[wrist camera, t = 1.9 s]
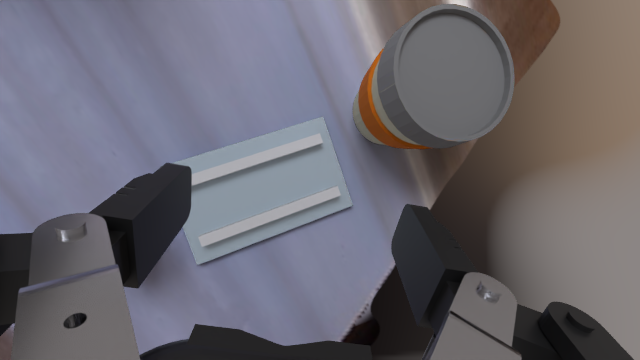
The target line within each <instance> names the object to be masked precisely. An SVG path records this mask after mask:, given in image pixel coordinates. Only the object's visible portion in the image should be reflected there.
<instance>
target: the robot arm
mask: <svg viewBox="0 0 640 360" xmlns="http://www.w3.org/2000/svg"><path fill="white" fill-rule="evenodd" d="M191 190H192V171H191V168H190V167H189V166H184V165H178V164H172V163H166V164H164V165H163V166H162V167H161V168H160V169H158V170H157V171H156V172H155V173H153V174H150V173H148V174H145V175H143V176H140V177H137V178H134V179H133V180H132V181H130V182H129V183H128V184H126V185H125V186H124V188H121V189H120V190H118V191H117V192H116V194H113V195H112V196H111V197H109V198H108V199H107V200H105V201H104V202H103V203H101V204H100V205H99V206H97V207H96V208H95V209H93V210H92V211H91V212H90V213H76V214H68V215H63V216H59V217H56V218H53V219H51V220H48V221H46V222H44V223H43V224H41V225H40V226H38V227H37V228H36V229H35V231H34V232H33V233H21V234H0V336H1V335H2V334H3V333H4V332H5V331H6V330H7V329H8V328H9V327H10V326H11V325H12V324H13V323H15V327H14V336H13V345H12V355H11V360H373V359H372V354H371V348H370V346H368V345H359V344H351V343H343V342H335V341H323V342H315V343H307V344H299V345H291V346H282V345H279V344H276V343H273V342H271V341H268V340H266V339H263V338H260V337H258V336H255V335H253V334H250V333H247V332H245V331H242V330H239V329H230V328H222V327H214V326H206V325H198V324H195V326H194V329H193V331H192V333H191V336H190V338H189V339H186V340H180V341H176V342H171V343H168V344H165V345H162V346H159V347H156V348H154V349H152V350H149V351H147V352H145V353H143V354H141V355H139V352H138V348H137V343H136V339H135V335H134V331H133V326H132V322H131V318H130V314H129V309H128V305H127V301H126V297H125V292H124V288H123V286H124V287H132V288H139V287H140V285H141V284H142V282H143V281H144V280H145V278H146V277H147V275H148V274H149V273H150V271H151V270H152V268H153V267H154V266H155V264H156V263H157V261H158V260H159V259H160V257H161V256H162V255H163V253H164V252H165V250H166V249H167V248H168V246H169V245H170V243H171V242H172V241H173V239H174V238H175V236H176V235H177V234H178V232H179V231H180V230H181V228H182V227H183V225H184V224H185V223H186V221H187V219H188V217H189V214H190V210H191ZM391 249H392V254H393V257H394V260H395V263H396V266H397V269H398V272H399V274H400V277H401V280H402V283H403V286H404V289H405V291H406V294H407V297H408V300H409V302H410V306H411V309H412V311H413V314H414V317H415V320H416V323H417V325H418V326H419V327H427V328H433V330H434V335H433V337H432V339H431V341H430V343H429V345H428V347H427V349H426V351H425V354H424V356H423V358H422V360H634V359H633V358H632V357H631V356H630V355H629V354H628V353H627V352H626V351H625V350H624V349H623V348H622V347H621V346H620V345H619V344H618V343H617V341H616V340H615V339H614V338H613V337H612V336H611V335H610V334H609V333H608V332H607V331H606V330H605V329H604V328H603V327H602V326H601V325H600V324H599V323H598V322H597V321H596V320H595V319H593V318H592V317H590V316H589V315H588V314H586V313H584V312H583V311H581V310H579V309H577V308H575V307H573V306H571V305H568V304H565V303H561V302H551V303H550V304H549V305H548V306H547V308H546V309H545V311H544V312H543V313H541V312H537V311H535V310H532V309H530V308H527V307H524V306H521V305H519V304H517V301H516V298H515V297H514V295H513V294H512V292H511V291H510V290H509V289H508V288H507V287H506V286H504V285H503V284H502V283H500V282H499V281H497V280H496V279H493V278H492V277H490V276H487V275H484V274H481V273H478V271H477V270H476V268H475V267H474V265H473V264H472V263H471V261H470V260H469V258H468V257H467V255H466V254H465V253H464V251H463V250H461V247H460V245H459V244H458V242H456V240H455V238H454V237H453V235H452V234H451V233H450V231H449V230H448V229H446V228H445V227H444V226H443V225H442V224H440V223H439V222H437V221H436V219H435V218H434V216H433V215H432V213H431V212H430V210H429V209H428V208H427V207H422V206H416V205H410V204H407V205H405V207H404V209H403V211H402V214H401V216H400V219H399V222H398V225H397V227H396V230H395V233H394V236H393V239H392V246H391Z"/></svg>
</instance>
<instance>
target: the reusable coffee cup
mask: <svg viewBox="0 0 640 360" xmlns="http://www.w3.org/2000/svg"><path fill="white" fill-rule="evenodd" d="M513 90H514V67H513V61H512V58H511V54H510V51H509V48H508V46H507V44H506V42H505V40H504V38H503V37H502V35H501V34H500V32H499V31H498V29H497V28H496V27H495V26H494V25H493V24H492V23H491V22H490V21H489V20H488V19H487V18H486V17H484V16H483V15H482V14H480V13H479V12H477V11H475V10H473V9H470V8H468V7H466V6H461V5H457V4H442V5H437V6H433V7H430V8H428V9H426V10H424V11H422V12H420V13H419V14H418V15H417V16H415V17H414V18H413V19H411V20H410V21H409V22H407V23H406V24H405V25H404V26H402V27H401V28H400V29H399V30H397V31H396V32H395V33H394V34H393V35H392V37H391V38H390V39H389V40H388V42H387V43H386V45H385V47H384V49H382V51H381V52H380V53H379V55H378V56H377V57H376V59H375V60H374V62H373V63H372V65H371V67H370V68H369V70H368V71H367V73H366V75H365V76H364V78H363V80H362V83H361V86H360V90H359V92H358V93H357V95H356V97H355V100H354V104H353V118H354V122H355V125H356V126H357V128H358V130H359V132H360V133H361V134H362V135H363V136H364V137H365V138H366V139H367V140H369V141H371V142H373V143H376V144H379V145H388V146H391V147H394V148H402V149H428V148H448V147H453V146H456V145H459V144H462V143H465V142H467V141H470V140H473V139H476V138H479V137H482V136H483V135H485V134H486V133H488V132H489V131H491V130H492V129H493V128H494V127H495V126H496V125H497V124H498V123H499V122H500V121H501V119H502V118H503V116H504V114H505V113H506V112H507V109H508V107H509V104H510V102H511V99H512V95H513Z"/></svg>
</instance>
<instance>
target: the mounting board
mask: <svg viewBox="0 0 640 360" xmlns="http://www.w3.org/2000/svg"><path fill="white" fill-rule="evenodd" d="M172 164H178V165H184V166H189V167H190V168H191V171H192V190H191V210H190V214H189V217H188V219H187V221H186V223H185V224H184V225H183V229H184V232H185V234H186V237H187V240H188V242H189V245H190V248H191V250H192V253H193V256H194V258H195V261H196V264H197V265H199V264H202V263H204V262H207V261H210V260H212V259H215V258H217V257H220V256H223V255H225V254H228V253H230V252H233V251H236V250H238V249H241V248H243V247H246V246H249V245H251V244H254V243H257V242H259V241H262V240H264V239H267V238H270V237H272V236H275V235H277V234H280V233H283V232H285V231H288V230H290V229H293V228H296V227H298V226H301V225H303V224H306V223H309V222H311V221H314V220H316V219H319V218H322V217H324V216H327V215H329V214H332V213H335V212H337V211H340V210H342V209H345V208H348V207H350V206H353V204H352V201H351V198H350V195H349V192H348V189H347V186H346V183H345V180H344V177H343V174H342V171H341V168H340V165H339V162H338V159H337V156H336V153H335V150H334V147H333V144H332V141H331V138H330V135H329V132H328V129H327V126H326V123H325V120H324V117H320V118H317V119H313V120H310V121H307V122H304V123H300V124H297V125H294V126H291V127H287V128H284V129H281V130H278V131H274V132H271V133H268V134H265V135H261V136H258V137H255V138H252V139H248V140H245V141H242V142H239V143H236V144H232V145H229V146H226V147H223V148H219V149H216V150H213V151H210V152H206V153H203V154H200V155H197V156H193V157H190V158H187V159H184V160H180V161H177V162H174V163H172ZM161 167H162V166H161ZM161 167H160V168H161Z"/></svg>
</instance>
